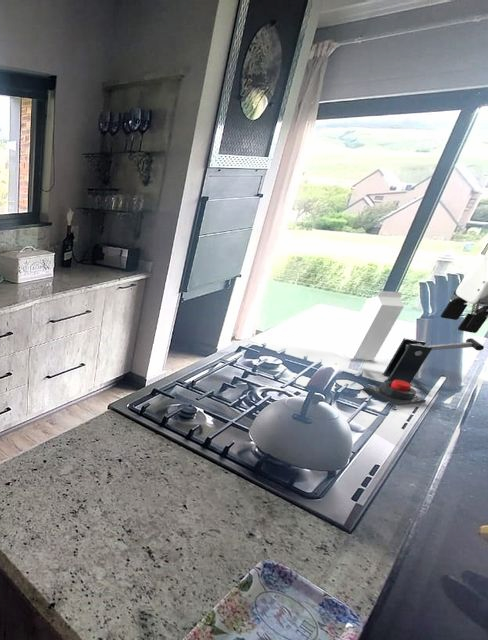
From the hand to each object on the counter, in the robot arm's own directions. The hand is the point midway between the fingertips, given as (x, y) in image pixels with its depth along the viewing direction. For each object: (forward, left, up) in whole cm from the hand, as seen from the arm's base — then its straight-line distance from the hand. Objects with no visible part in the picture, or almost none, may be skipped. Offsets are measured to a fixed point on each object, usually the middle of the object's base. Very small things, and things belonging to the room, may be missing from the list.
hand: (457, 324), depth 97 cm
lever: (-8, -4, -9) cm, 13 cm away
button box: (+6, 0, -21) cm, 22 cm away
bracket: (-4, -7, -21) cm, 22 cm away
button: (+6, 0, -17) cm, 19 cm away
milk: (-9, -22, -21) cm, 32 cm away
